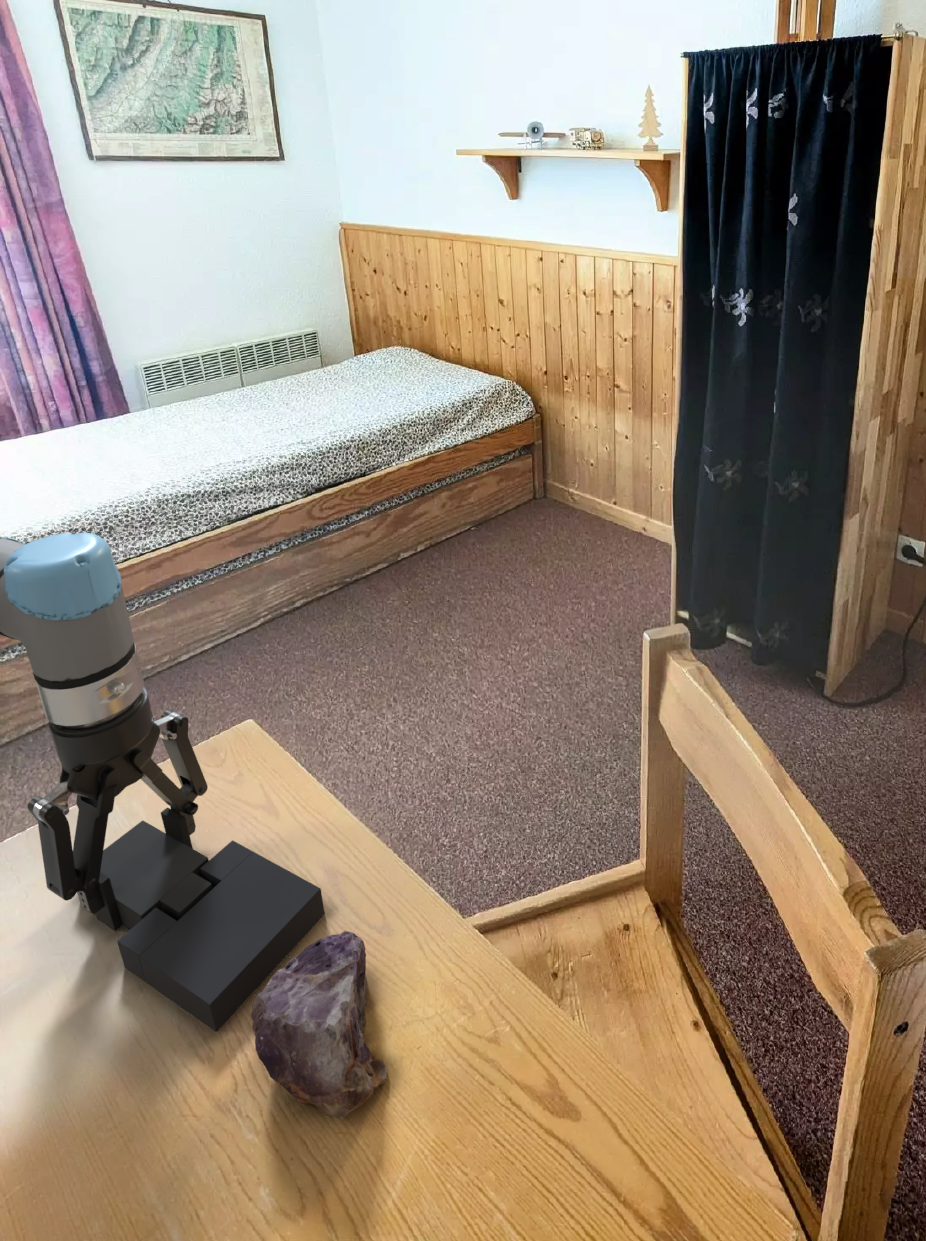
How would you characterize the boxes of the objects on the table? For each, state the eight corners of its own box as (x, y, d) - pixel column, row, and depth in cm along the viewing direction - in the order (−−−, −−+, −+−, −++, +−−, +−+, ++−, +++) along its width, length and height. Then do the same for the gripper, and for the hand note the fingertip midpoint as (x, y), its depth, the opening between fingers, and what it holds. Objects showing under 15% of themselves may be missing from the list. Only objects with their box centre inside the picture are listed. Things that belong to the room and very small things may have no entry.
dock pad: (126, 973, 71) (116, 941, 70) (238, 869, 81) (232, 840, 80) (217, 1038, 66) (209, 1005, 64) (325, 919, 76) (320, 888, 74)
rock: (386, 989, 71) (266, 1019, 68) (380, 906, 69) (255, 934, 66) (389, 1120, 60) (245, 1163, 57) (381, 1026, 58) (232, 1065, 55)
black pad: (83, 902, 77) (73, 872, 76) (150, 849, 83) (142, 820, 82) (169, 961, 72) (160, 929, 71) (234, 899, 78) (227, 868, 76)
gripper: (-2, 795, 60) (69, 1003, 68) (223, 653, 77) (259, 833, 85) (-55, 762, 63) (19, 965, 71) (172, 633, 80) (211, 808, 88)
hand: (149, 893), depth 78 cm, fingers closed on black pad, 7 cm apart
